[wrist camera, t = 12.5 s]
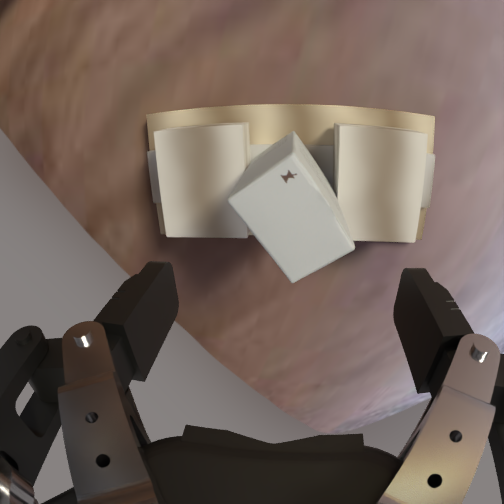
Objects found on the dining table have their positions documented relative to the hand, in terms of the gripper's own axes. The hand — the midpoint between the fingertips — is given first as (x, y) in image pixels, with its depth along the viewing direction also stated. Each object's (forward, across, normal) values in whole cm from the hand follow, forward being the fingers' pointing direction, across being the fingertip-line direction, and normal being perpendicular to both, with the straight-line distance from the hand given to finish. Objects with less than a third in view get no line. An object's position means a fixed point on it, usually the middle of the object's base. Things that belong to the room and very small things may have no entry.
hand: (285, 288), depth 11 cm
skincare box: (+18, 0, 0) cm, 18 cm away
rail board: (+20, 0, 0) cm, 20 cm away
